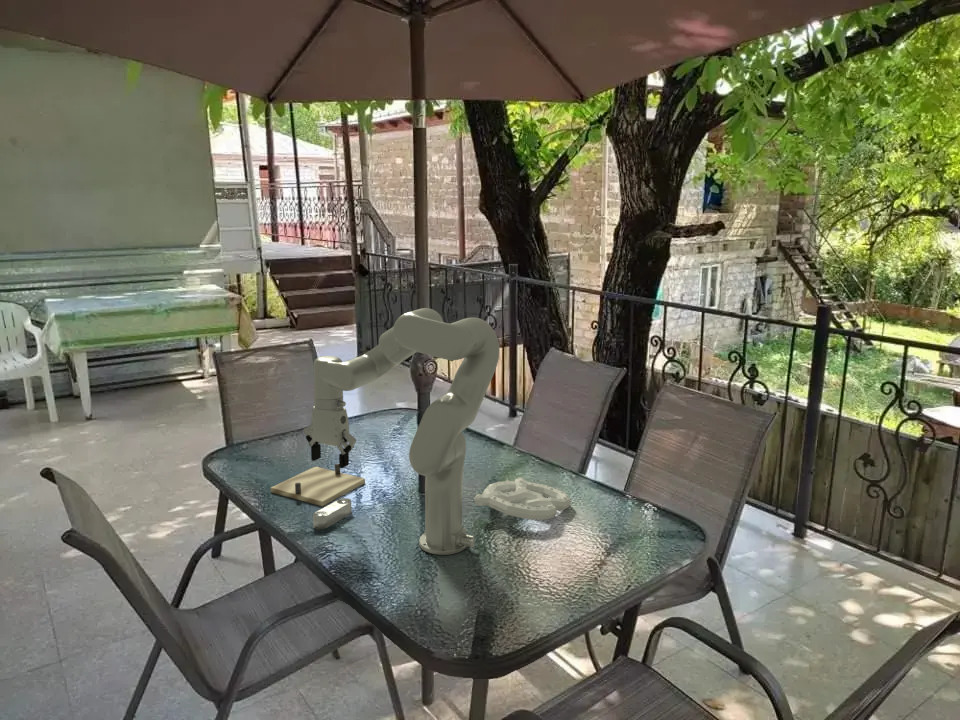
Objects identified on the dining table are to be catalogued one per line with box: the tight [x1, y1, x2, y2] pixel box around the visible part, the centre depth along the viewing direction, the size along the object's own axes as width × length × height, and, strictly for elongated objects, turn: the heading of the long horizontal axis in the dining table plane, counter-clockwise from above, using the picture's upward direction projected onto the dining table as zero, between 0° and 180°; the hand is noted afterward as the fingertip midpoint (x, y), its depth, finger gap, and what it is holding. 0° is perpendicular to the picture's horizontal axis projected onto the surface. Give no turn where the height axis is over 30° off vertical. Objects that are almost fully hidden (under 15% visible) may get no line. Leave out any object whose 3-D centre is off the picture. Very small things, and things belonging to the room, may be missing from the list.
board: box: [270, 463, 366, 507], centre depth 215 cm, size 20×20×4 cm
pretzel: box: [473, 477, 572, 521], centre depth 202 cm, size 28×24×6 cm
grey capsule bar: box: [312, 497, 352, 531], centre depth 194 cm, size 4×14×4 cm, turn 152°
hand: (329, 462), depth 191 cm, fingers open, 9 cm apart
